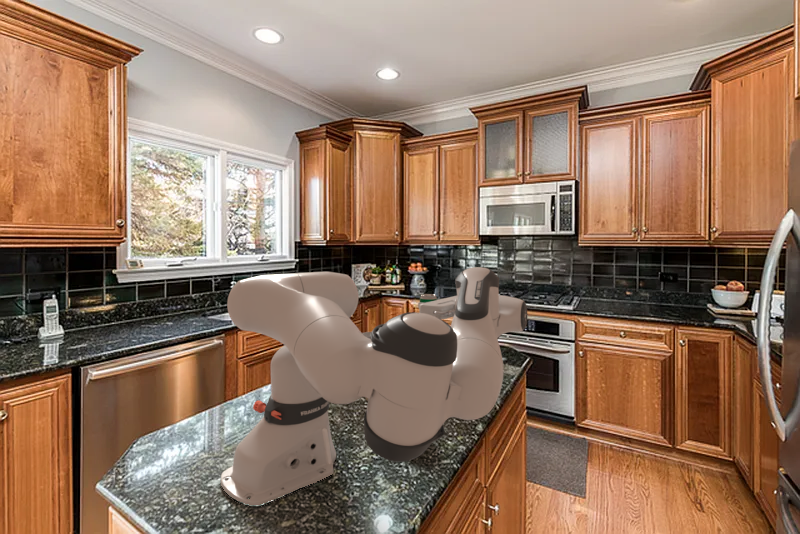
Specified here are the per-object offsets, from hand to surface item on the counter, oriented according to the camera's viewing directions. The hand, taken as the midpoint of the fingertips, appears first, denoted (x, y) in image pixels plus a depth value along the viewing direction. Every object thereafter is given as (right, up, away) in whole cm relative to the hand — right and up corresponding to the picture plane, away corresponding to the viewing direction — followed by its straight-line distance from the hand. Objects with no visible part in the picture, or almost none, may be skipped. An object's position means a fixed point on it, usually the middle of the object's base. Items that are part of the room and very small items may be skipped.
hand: (426, 303), depth 112 cm
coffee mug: (-19, -25, +32) cm, 45 cm away
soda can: (0, -10, 0) cm, 10 cm away
